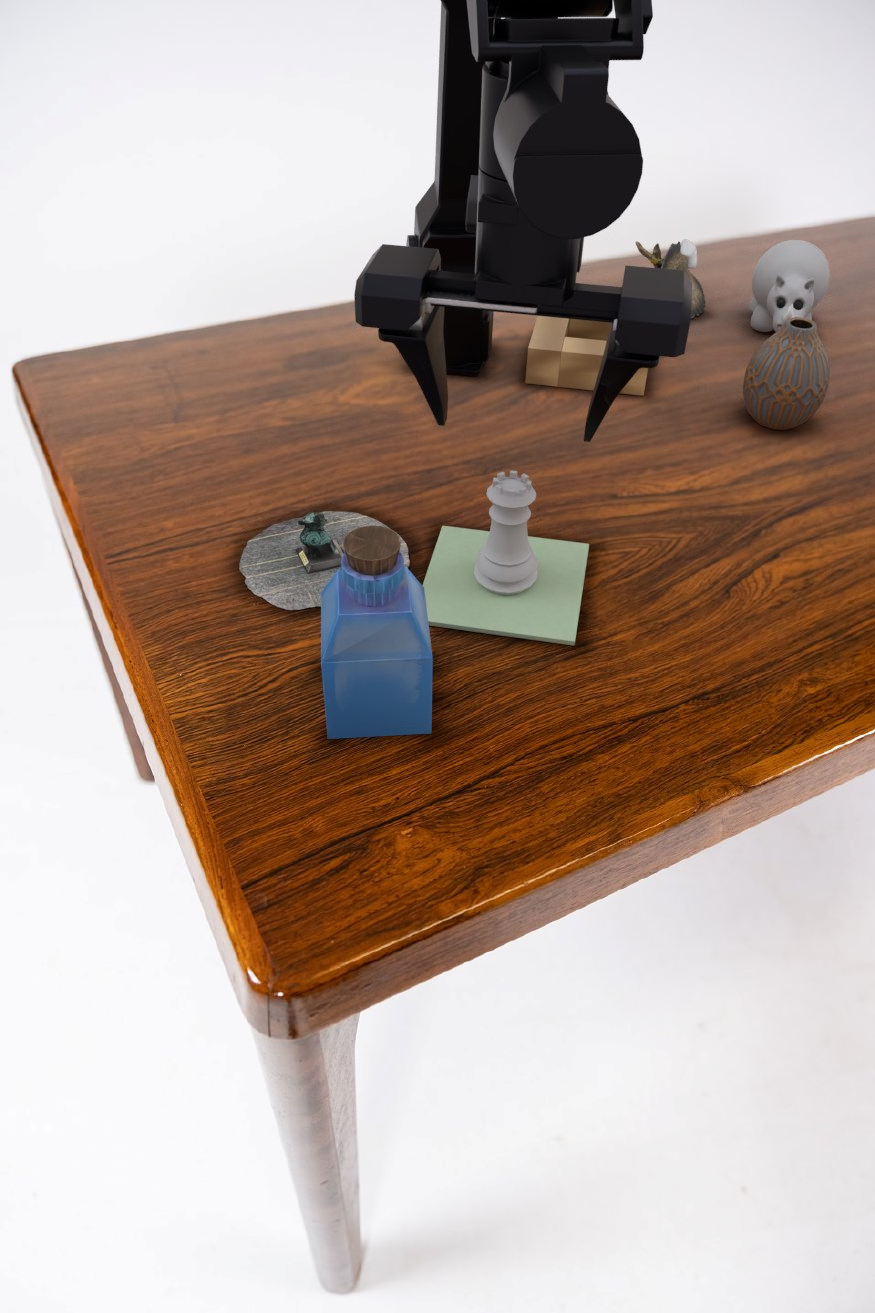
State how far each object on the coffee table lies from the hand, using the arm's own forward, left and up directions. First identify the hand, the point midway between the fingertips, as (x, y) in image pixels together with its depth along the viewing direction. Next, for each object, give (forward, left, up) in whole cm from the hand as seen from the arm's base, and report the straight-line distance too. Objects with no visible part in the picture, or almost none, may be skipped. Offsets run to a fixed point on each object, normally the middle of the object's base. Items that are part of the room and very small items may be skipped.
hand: (514, 430), depth 64 cm
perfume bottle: (-6, -14, -12) cm, 19 cm away
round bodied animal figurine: (+21, +44, -12) cm, 50 cm away
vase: (+20, +27, -12) cm, 36 cm away
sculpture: (-13, -1, -12) cm, 18 cm away
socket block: (+3, +34, -12) cm, 37 cm away
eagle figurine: (+10, +50, -12) cm, 53 cm away
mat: (0, -1, -12) cm, 12 cm away
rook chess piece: (0, -1, -12) cm, 12 cm away
